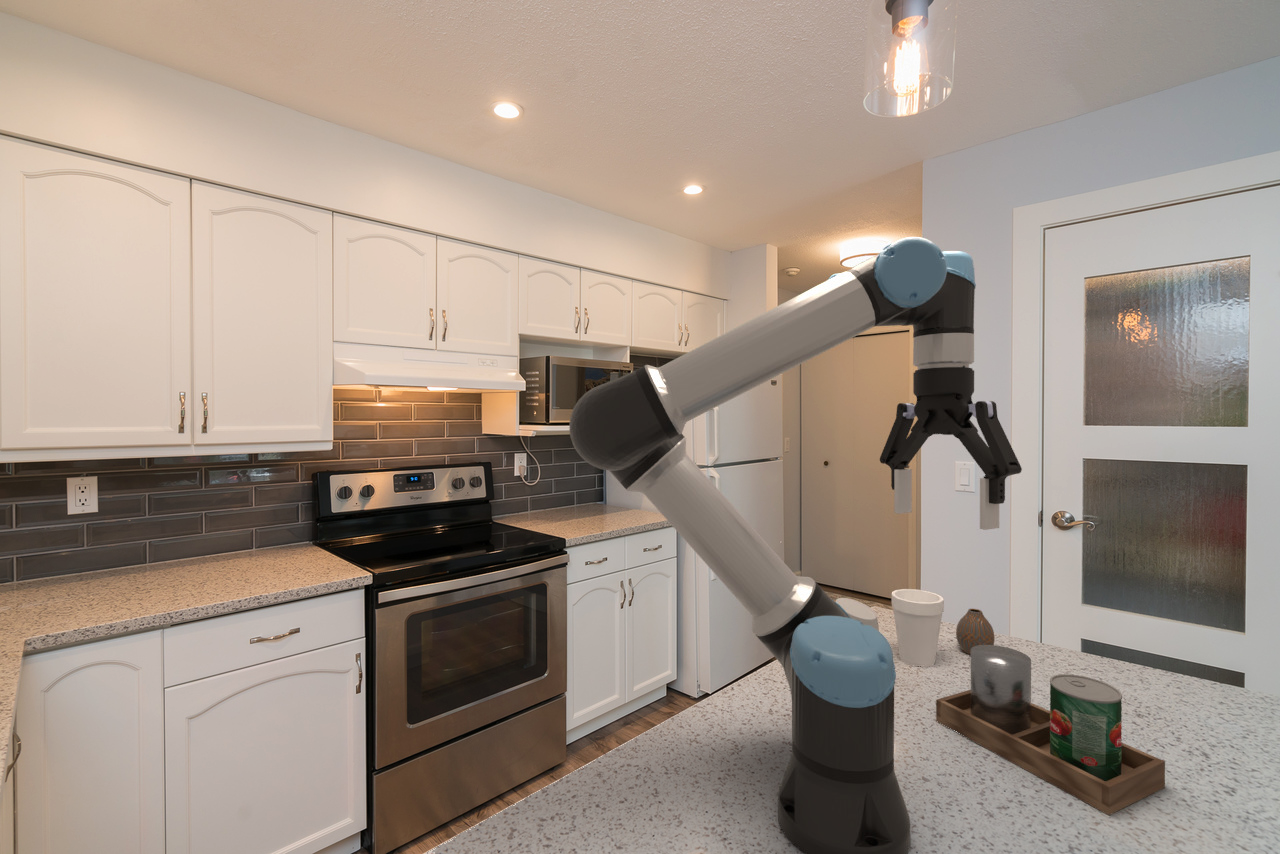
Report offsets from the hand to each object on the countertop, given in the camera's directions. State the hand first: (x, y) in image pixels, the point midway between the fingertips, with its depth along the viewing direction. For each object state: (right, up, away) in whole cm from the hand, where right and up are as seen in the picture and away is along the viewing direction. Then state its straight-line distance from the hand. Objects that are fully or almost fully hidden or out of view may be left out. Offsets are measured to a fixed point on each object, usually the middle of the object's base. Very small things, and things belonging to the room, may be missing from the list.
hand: (943, 520), depth 82 cm
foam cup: (+13, -34, +36) cm, 51 cm away
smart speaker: (-1, -34, +29) cm, 45 cm away
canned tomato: (+19, -34, -1) cm, 39 cm away
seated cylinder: (+14, -34, +9) cm, 38 cm away
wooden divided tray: (+16, -35, +4) cm, 38 cm away
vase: (+27, -34, +39) cm, 59 cm away
